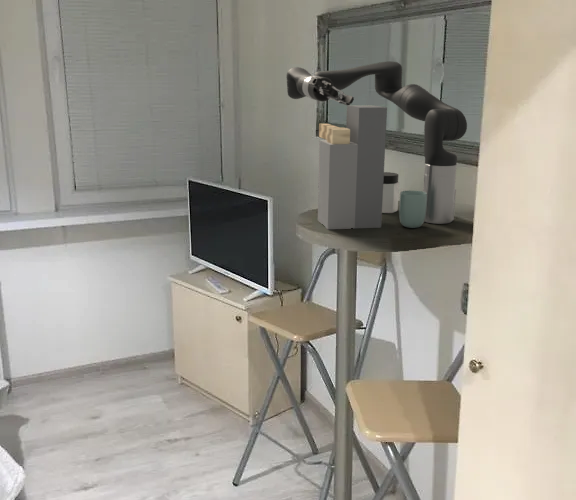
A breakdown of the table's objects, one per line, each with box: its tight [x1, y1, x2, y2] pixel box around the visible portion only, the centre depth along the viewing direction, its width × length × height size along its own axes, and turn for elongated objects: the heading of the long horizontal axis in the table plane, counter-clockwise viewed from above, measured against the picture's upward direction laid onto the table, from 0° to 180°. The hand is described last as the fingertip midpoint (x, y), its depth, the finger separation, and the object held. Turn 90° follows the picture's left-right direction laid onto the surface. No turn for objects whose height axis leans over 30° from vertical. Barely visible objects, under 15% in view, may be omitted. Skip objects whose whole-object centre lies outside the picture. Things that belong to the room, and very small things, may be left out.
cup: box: [398, 190, 427, 229], centre depth 189 cm, size 8×8×10 cm
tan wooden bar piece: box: [318, 122, 350, 144], centre depth 190 cm, size 21×5×4 cm, turn 11°
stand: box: [317, 104, 388, 230], centre depth 188 cm, size 12×16×34 cm
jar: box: [382, 171, 400, 214], centre depth 210 cm, size 9×8×12 cm
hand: (341, 93), depth 197 cm, fingers open, 8 cm apart
